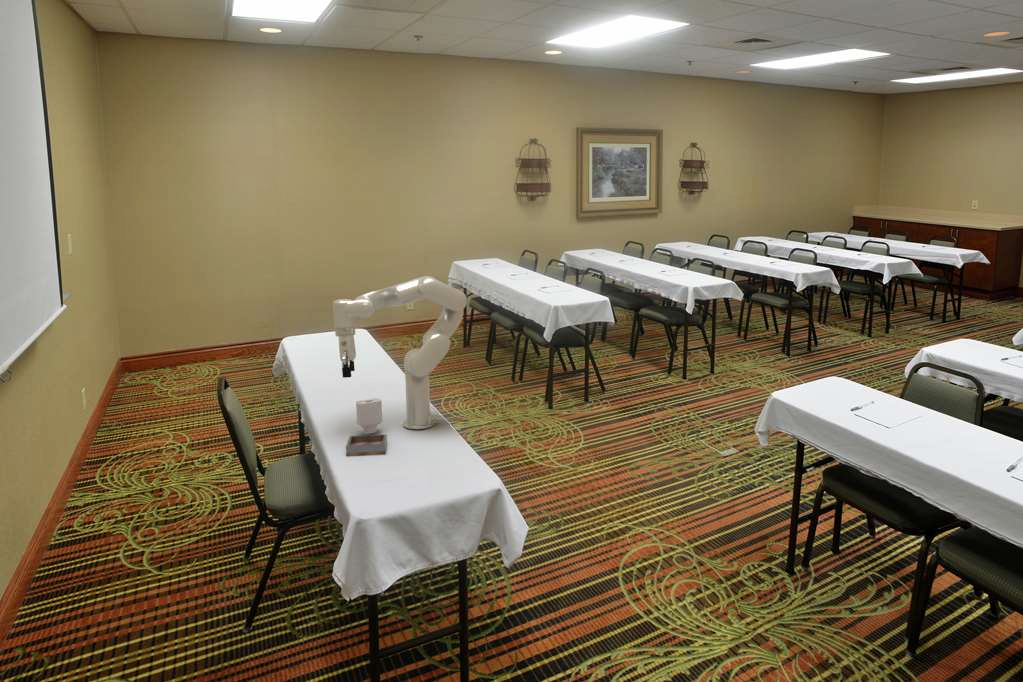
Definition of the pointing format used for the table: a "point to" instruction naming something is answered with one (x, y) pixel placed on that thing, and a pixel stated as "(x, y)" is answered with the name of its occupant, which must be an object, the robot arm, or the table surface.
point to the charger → (369, 414)
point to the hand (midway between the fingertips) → (348, 374)
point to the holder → (366, 445)
